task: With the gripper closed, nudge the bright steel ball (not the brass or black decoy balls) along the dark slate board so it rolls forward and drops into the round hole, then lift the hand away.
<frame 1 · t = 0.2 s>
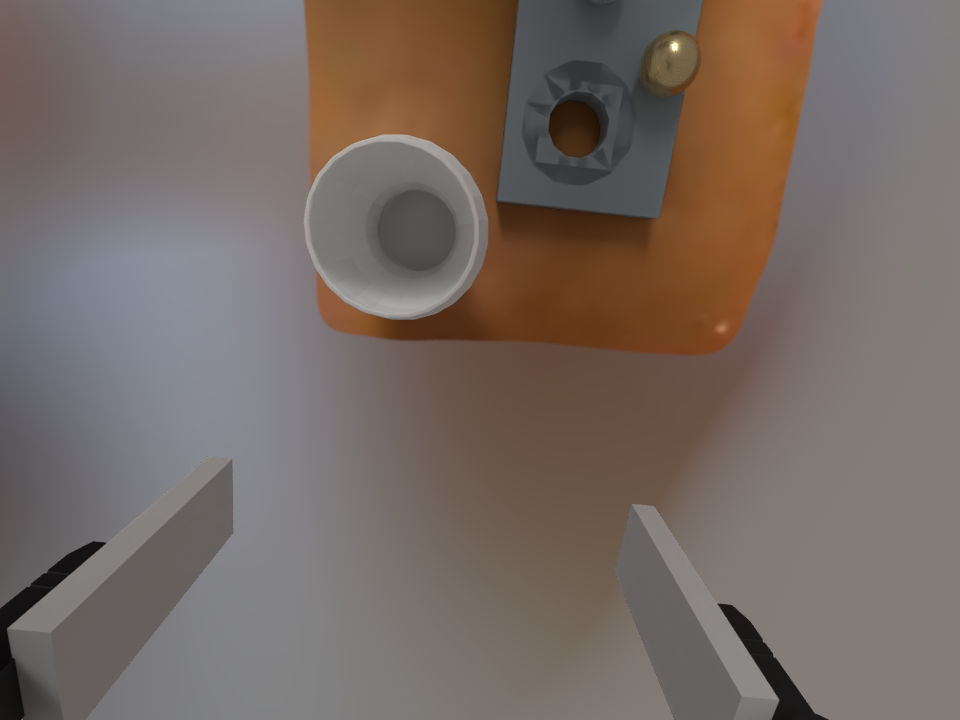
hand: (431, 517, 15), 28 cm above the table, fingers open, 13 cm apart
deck: (594, 63, 36), on the table
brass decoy: (669, 64, 32), point 4 cm above the table, touching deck
cup: (422, 231, 40), on the table
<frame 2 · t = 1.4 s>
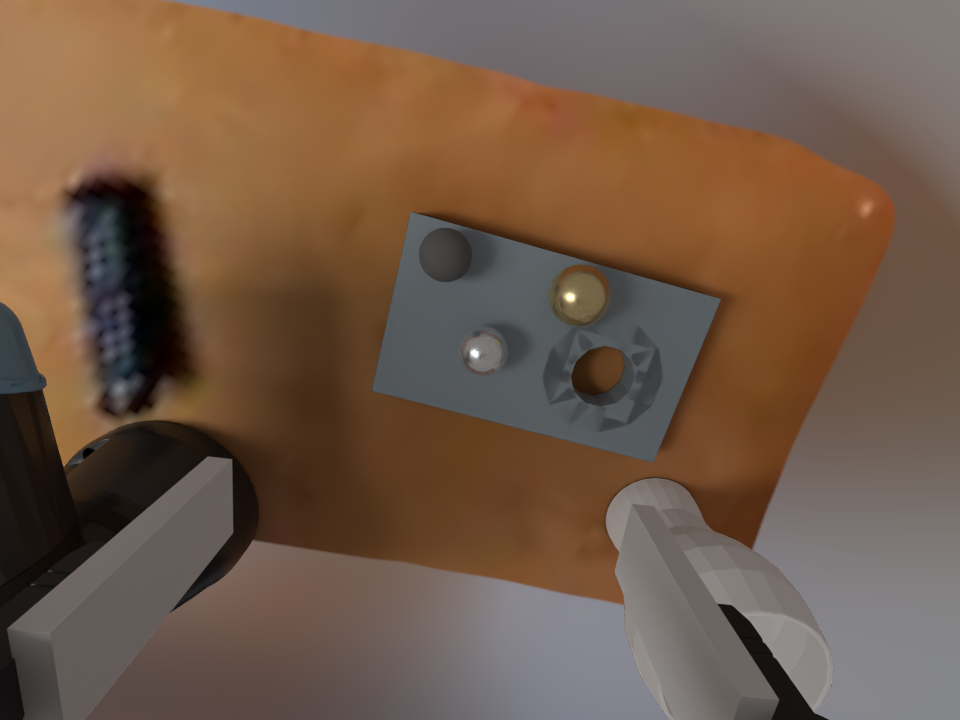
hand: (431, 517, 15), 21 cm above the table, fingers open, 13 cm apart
steel ball: (483, 351, 32), point 4 cm above the table, touching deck
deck: (537, 338, 36), on the table
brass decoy: (579, 295, 30), point 4 cm above the table, touching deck
black decoy: (445, 255, 30), point 4 cm above the table, touching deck
cup: (649, 516, 40), on the table
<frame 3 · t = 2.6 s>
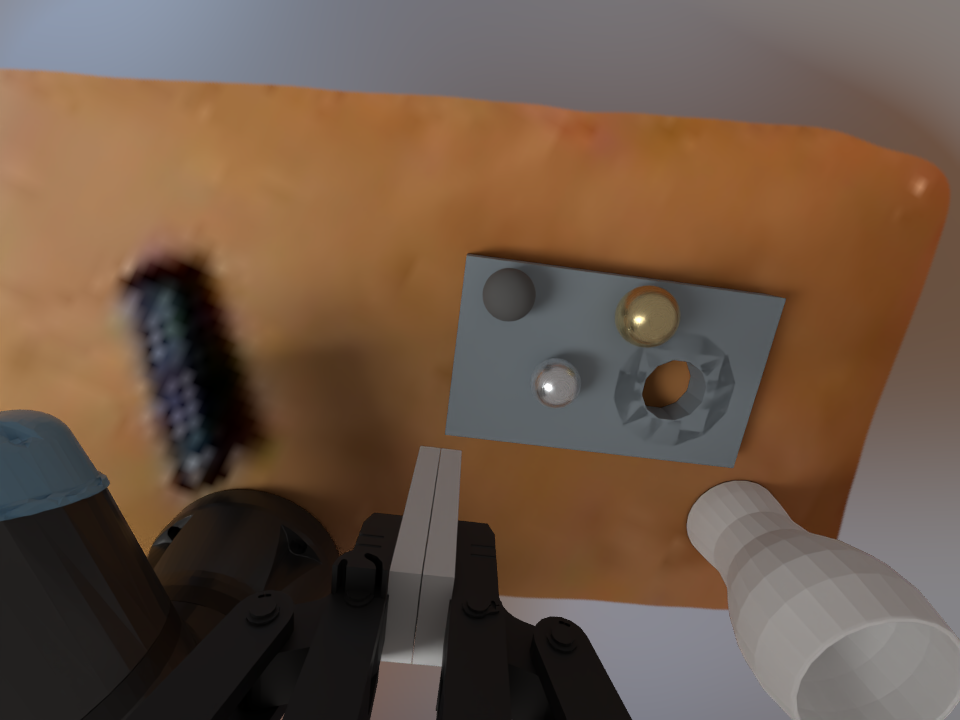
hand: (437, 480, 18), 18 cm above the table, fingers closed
steel ball: (555, 383, 31), point 4 cm above the table, touching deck
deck: (599, 359, 35), on the table
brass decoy: (646, 316, 30), point 4 cm above the table, touching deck
black decoy: (509, 294, 30), point 4 cm above the table, touching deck
cup: (730, 518, 40), on the table
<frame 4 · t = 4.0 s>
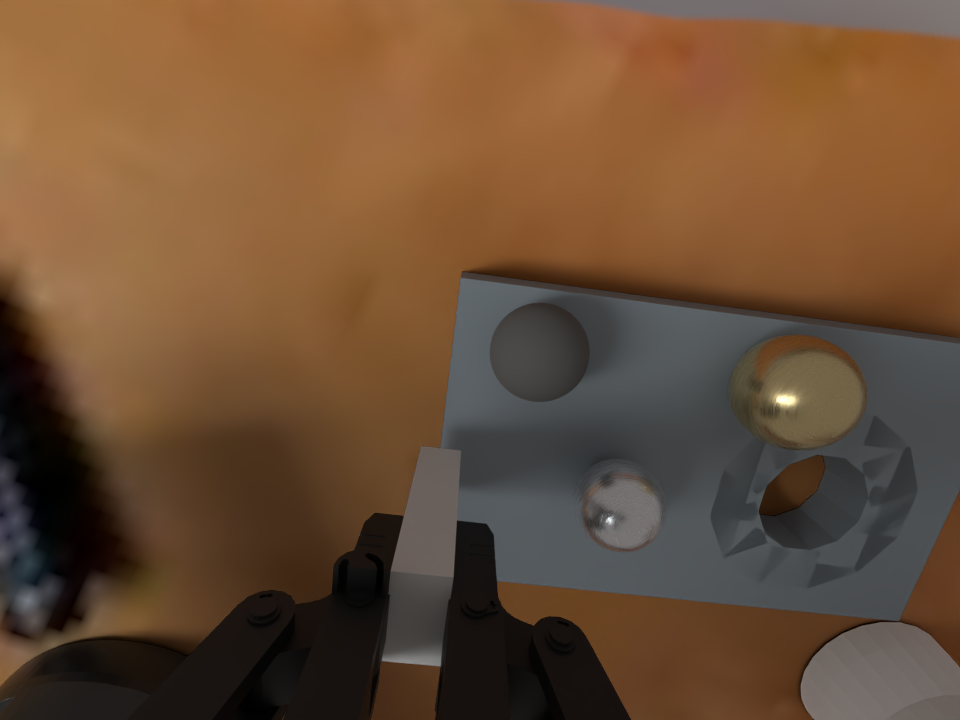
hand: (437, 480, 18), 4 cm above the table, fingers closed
steel ball: (618, 504, 18), point 4 cm above the table, touching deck
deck: (679, 443, 22), on the table
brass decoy: (793, 392, 16), point 4 cm above the table, touching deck
black decoy: (539, 352, 16), point 4 cm above the table, touching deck
cup: (866, 673, 26), on the table
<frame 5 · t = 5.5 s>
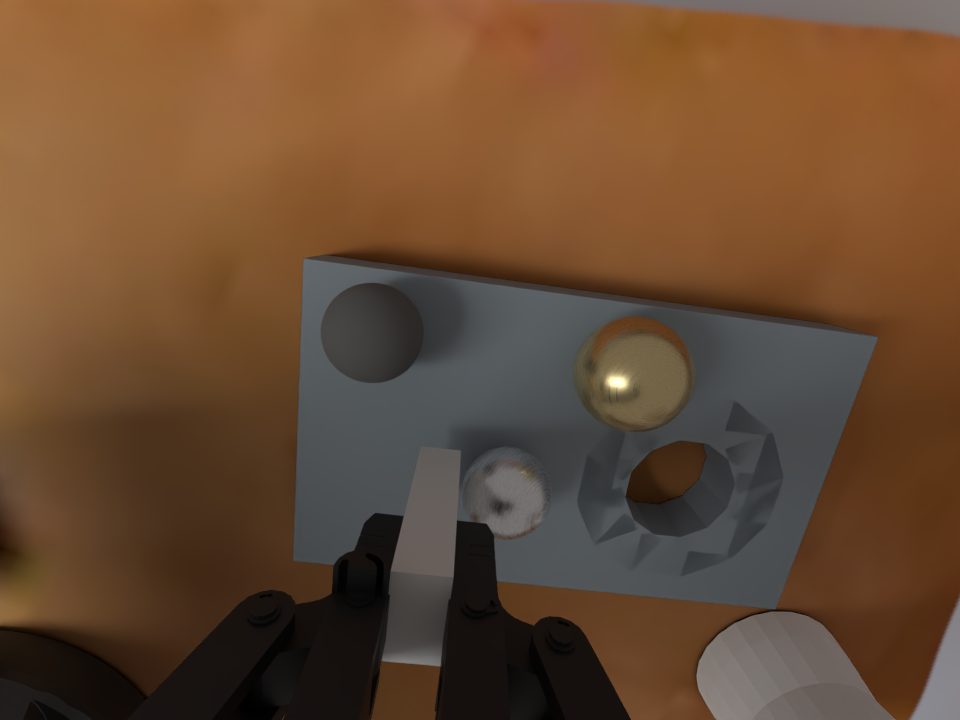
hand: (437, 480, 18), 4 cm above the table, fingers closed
steel ball: (506, 492, 18), point 4 cm above the table, tilted 46°, touching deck
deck: (557, 430, 22), on the table
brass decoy: (631, 374, 16), point 4 cm above the table, touching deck
black decoy: (373, 333, 16), point 4 cm above the table, touching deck
cup: (763, 663, 26), on the table
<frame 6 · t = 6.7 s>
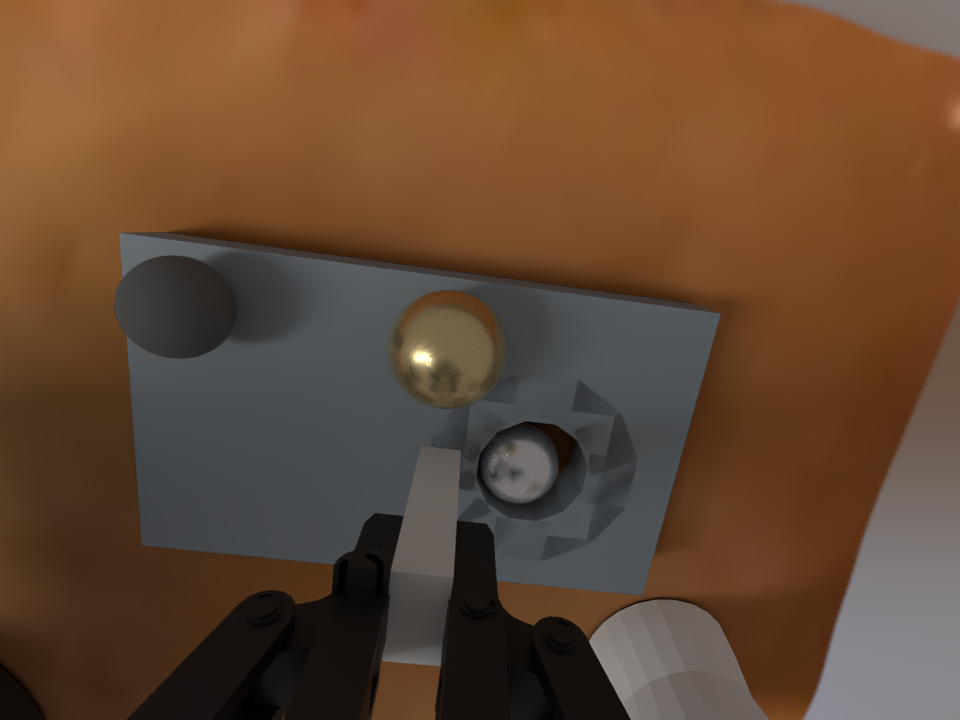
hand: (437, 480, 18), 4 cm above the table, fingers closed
steel ball: (518, 462, 20), point 2 cm above the table, tilted 44°
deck: (419, 413, 21), on the table
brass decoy: (447, 349, 16), point 4 cm above the table, touching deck
black decoy: (179, 307, 15), point 4 cm above the table, touching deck
cup: (653, 652, 25), on the table
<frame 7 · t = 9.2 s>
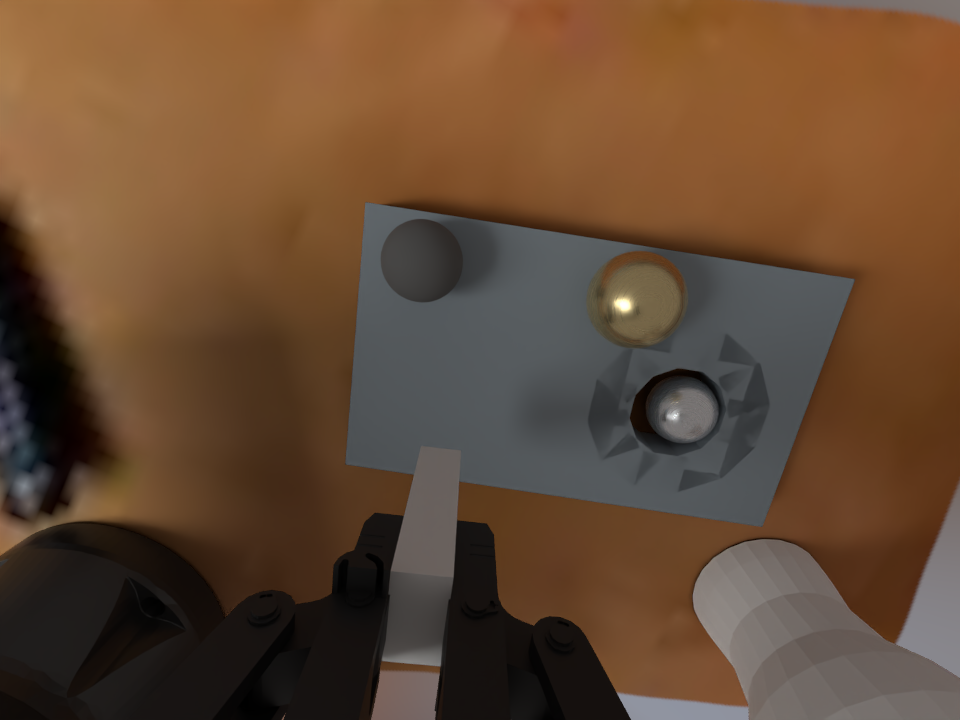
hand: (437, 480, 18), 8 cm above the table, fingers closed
steel ball: (681, 409, 24), point 2 cm above the table, tilted 12°
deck: (572, 363, 25), on the table
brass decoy: (635, 300, 19), point 4 cm above the table, touching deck
black decoy: (422, 261, 19), point 4 cm above the table, touching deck
cup: (754, 589, 29), on the table
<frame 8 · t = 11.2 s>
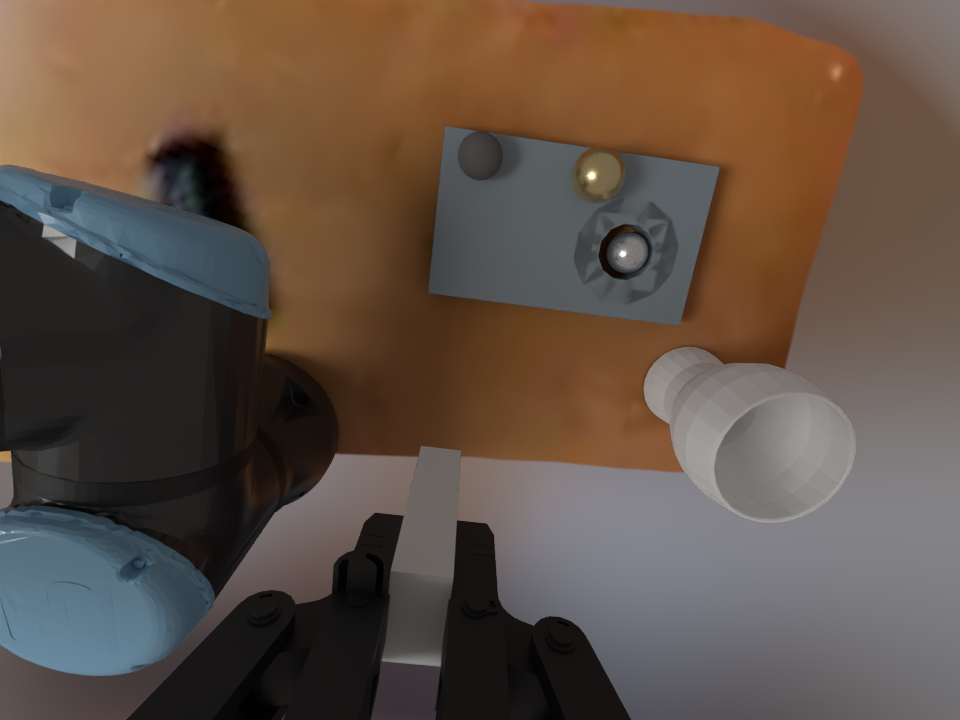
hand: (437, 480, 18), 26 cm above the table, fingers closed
steel ball: (627, 252, 39), point 2 cm above the table, tilted 17°
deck: (563, 231, 41), on the table
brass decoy: (597, 175, 35), point 4 cm above the table, touching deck
black decoy: (480, 156, 35), point 4 cm above the table, touching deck
cup: (682, 384, 45), on the table
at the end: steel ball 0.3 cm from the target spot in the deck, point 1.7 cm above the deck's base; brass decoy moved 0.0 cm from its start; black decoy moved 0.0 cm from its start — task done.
